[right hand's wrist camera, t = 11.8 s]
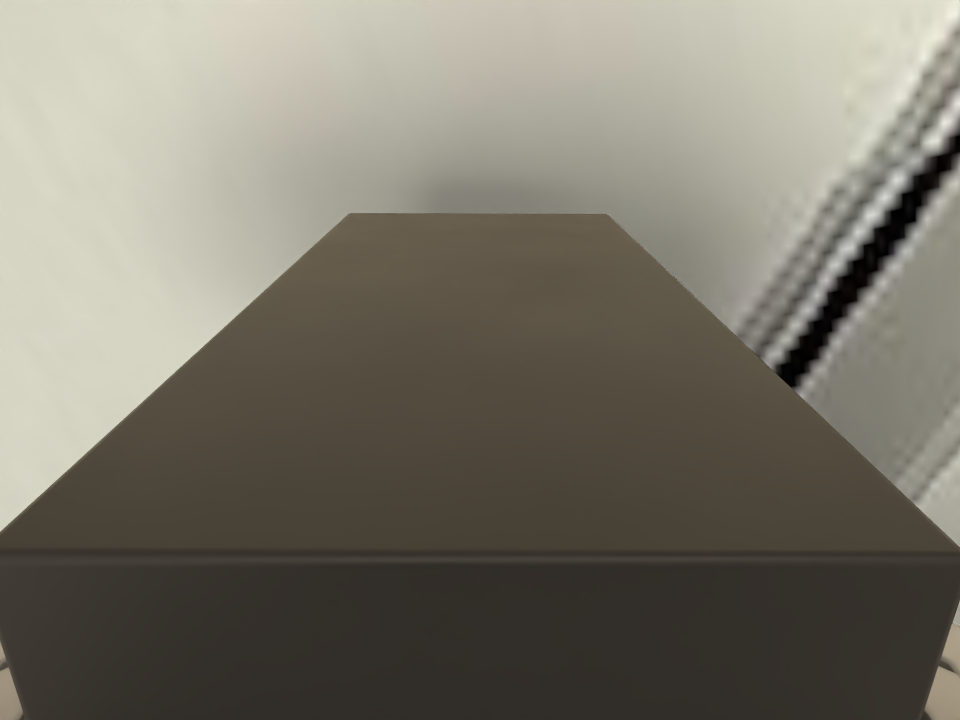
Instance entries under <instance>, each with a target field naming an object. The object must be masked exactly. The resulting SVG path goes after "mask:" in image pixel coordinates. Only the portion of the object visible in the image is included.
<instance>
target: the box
mask: <svg viewBox="0 0 960 720" xmlns="http://www.w3.org/2000/svg"><path fill="white" fill-rule="evenodd" d="M959 601H960V547H959V546H958V545H957V544H956V543H955V542H954V541H952V540H951V539H950V538H949V537H948V536H947V535H946V534H945V533H944V532H943V531H942V530H941V529H940V528H939V527H938V526H937V525H936V524H934V523H933V522H932V521H931V520H930V519H929V518H928V517H927V516H926V515H925V514H924V513H923V512H922V511H921V510H920V509H919V508H918V507H916V506H915V505H914V504H913V503H912V502H911V501H910V500H909V499H908V498H907V497H906V496H905V495H904V494H903V493H902V492H901V491H900V490H898V489H897V488H896V487H895V486H894V485H893V484H892V483H891V482H890V481H889V480H888V479H887V478H886V477H885V476H884V475H883V474H882V473H880V472H879V471H878V470H877V469H876V468H875V467H874V466H873V465H872V464H871V463H870V462H869V461H868V460H867V459H866V458H865V457H864V456H862V455H861V454H860V453H859V452H858V451H857V450H856V449H855V448H854V447H853V446H852V445H851V444H850V443H849V442H848V441H847V440H846V439H845V438H843V437H842V436H841V435H840V434H839V433H838V432H837V431H836V430H835V429H834V428H833V427H832V426H831V425H830V424H829V423H828V422H827V421H825V420H824V419H823V418H822V417H821V416H820V415H819V414H818V413H817V412H816V411H815V410H814V409H813V408H812V407H811V406H810V405H809V404H807V403H806V402H805V401H804V400H803V399H802V398H801V397H800V396H799V395H798V394H797V393H796V392H795V391H794V390H793V389H792V388H791V387H789V386H788V385H787V384H786V383H785V382H784V381H783V380H782V379H781V378H780V377H779V376H778V375H777V374H776V373H775V372H774V371H773V370H771V369H770V368H769V367H768V366H767V365H766V364H765V363H764V362H763V361H762V360H761V359H760V358H759V357H758V356H757V355H756V354H755V353H753V352H752V351H751V350H750V349H749V348H748V347H747V346H746V345H745V344H744V343H743V342H742V341H741V340H740V339H739V338H738V337H737V336H736V335H734V334H733V333H732V332H731V331H730V330H729V329H728V328H727V327H726V326H725V325H724V324H723V323H722V322H721V321H720V320H719V319H718V318H716V317H715V316H714V315H713V314H712V313H711V312H710V311H709V310H708V309H707V308H706V307H705V306H704V305H703V304H702V303H701V302H700V301H698V300H697V299H696V298H695V297H694V296H693V295H692V294H691V293H690V292H689V291H688V290H687V289H686V288H685V287H684V286H683V285H682V284H680V283H679V282H678V281H677V280H676V279H675V278H674V277H673V276H672V275H671V274H670V273H669V272H668V271H667V270H666V269H665V268H664V267H662V266H661V265H660V264H659V263H658V262H657V261H656V260H655V259H654V258H653V257H652V256H651V255H650V254H649V253H648V252H647V251H646V250H645V249H643V248H642V247H641V246H640V245H639V244H638V243H637V242H636V241H635V240H634V239H633V238H632V237H631V236H630V235H629V234H628V233H627V232H625V231H624V230H623V229H622V228H621V227H620V226H619V225H618V224H617V223H616V222H615V221H614V220H613V219H612V218H611V217H610V216H609V215H606V214H397V213H350V214H348V215H347V216H346V217H345V218H344V219H343V220H342V221H341V222H339V223H338V224H337V225H336V226H335V227H334V228H333V229H332V230H331V231H330V232H328V233H327V234H326V235H325V236H324V237H323V238H322V239H321V240H320V241H319V242H318V243H316V244H315V245H314V246H313V247H312V248H311V249H310V250H309V251H308V252H307V253H305V254H304V255H303V256H302V257H301V258H300V259H299V260H298V261H297V262H296V263H294V264H293V265H292V266H291V267H290V268H289V269H288V270H287V271H286V272H285V273H284V274H282V275H281V276H280V277H279V278H278V279H277V280H276V281H275V282H274V283H273V284H271V285H270V286H269V287H268V288H267V289H266V290H265V291H264V292H263V293H262V294H261V295H259V296H258V297H257V298H256V299H255V300H254V301H253V302H252V303H251V304H250V305H248V306H247V307H246V308H245V309H244V310H243V311H242V312H241V313H240V314H239V315H237V316H236V317H235V318H234V319H233V320H232V321H231V322H230V323H229V324H228V325H227V326H225V327H224V328H223V329H222V330H221V331H220V332H219V333H218V334H217V335H216V336H214V337H213V338H212V339H211V340H210V341H209V342H208V343H207V344H206V345H205V346H204V347H202V348H201V349H200V350H199V351H198V352H197V353H196V354H195V355H194V356H193V357H191V358H190V359H189V360H188V361H187V362H186V363H185V364H184V365H183V366H182V367H181V368H179V369H178V370H177V371H176V372H175V373H174V374H173V375H172V376H171V377H170V378H168V379H167V380H166V381H165V382H164V383H163V384H162V385H161V386H160V387H159V388H157V389H156V390H155V391H154V392H153V393H152V394H151V395H150V396H149V397H148V398H147V399H145V400H144V401H143V402H142V403H141V404H140V405H139V406H138V407H137V408H136V409H134V410H133V411H132V412H131V413H130V414H129V415H128V416H127V417H126V418H125V419H124V420H122V421H121V422H120V423H119V424H118V425H117V426H116V427H115V428H114V429H113V430H111V431H110V432H109V433H108V434H107V435H106V436H105V437H104V438H103V439H102V440H101V441H99V442H98V443H97V444H96V445H95V446H94V447H93V448H92V449H91V450H90V451H88V452H87V453H86V454H85V455H84V456H83V457H82V458H81V459H80V460H79V461H77V462H76V463H75V464H74V465H73V466H72V467H71V468H70V469H69V470H68V471H67V472H65V473H64V474H63V475H62V476H61V477H60V478H59V479H58V480H57V481H56V482H54V483H53V484H52V485H51V486H50V487H49V488H48V489H47V490H46V491H45V492H44V493H42V494H41V495H40V496H39V497H38V498H37V499H36V500H35V501H34V502H33V503H31V504H30V505H29V506H28V507H27V508H26V509H25V510H24V511H23V512H22V513H21V514H19V515H18V516H17V517H16V518H15V519H14V520H13V521H12V522H11V523H10V524H8V525H7V526H6V527H5V528H4V529H3V530H2V531H1V532H0V642H1V645H2V648H3V651H4V654H5V657H6V661H7V664H8V667H9V670H10V673H11V676H12V679H13V682H14V685H15V688H16V692H17V695H18V698H19V701H20V704H21V707H22V710H23V713H24V716H25V719H26V720H921V719H922V715H923V712H924V709H925V706H926V703H927V700H928V697H929V694H930V691H931V687H932V684H933V681H934V678H935V675H936V672H937V669H938V666H939V663H940V660H941V656H942V653H943V650H944V647H945V644H946V641H947V638H948V635H949V632H950V628H951V625H952V622H953V619H954V616H955V613H956V610H957V607H958V604H959Z"/></svg>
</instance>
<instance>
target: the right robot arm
mask: <svg viewBox="0 0 960 720" xmlns="http://www.w3.org/2000/svg"><path fill="white" fill-rule="evenodd" d="M0 720H26V719H25V716H24V713H23V710H22V707H21V704H20V701H19V698H18V695H17V692H16V688H15V685H14V682H13V679H12V676H11V673H10V670H9V667H8V664H7V661H6V657H5V654H4V651H3V648H2V645H1V642H0ZM921 720H960V627H959V626H957V625H955V624H953V623H952V625H951V628H950V632H949V635H948V638H947V641H946V644H945V647H944V650H943V653H942V656H941V660H940V663H939V666H938V669H937V672H936V675H935V678H934V681H933V684H932V687H931V691H930V694H929V697H928V700H927V703H926V706H925V709H924V712H923V715H922V719H921Z"/></svg>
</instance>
